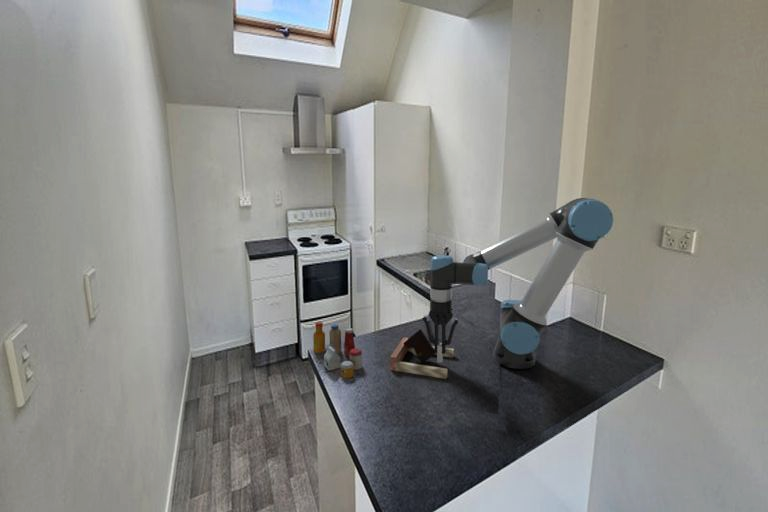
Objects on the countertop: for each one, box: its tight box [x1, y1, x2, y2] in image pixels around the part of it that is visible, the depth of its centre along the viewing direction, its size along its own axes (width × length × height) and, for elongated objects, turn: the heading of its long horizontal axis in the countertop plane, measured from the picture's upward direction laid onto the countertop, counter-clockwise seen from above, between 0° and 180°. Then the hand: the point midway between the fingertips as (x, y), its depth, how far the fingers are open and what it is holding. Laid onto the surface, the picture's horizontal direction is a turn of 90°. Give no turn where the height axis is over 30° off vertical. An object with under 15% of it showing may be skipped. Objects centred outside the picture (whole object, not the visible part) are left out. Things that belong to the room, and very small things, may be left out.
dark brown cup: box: [403, 328, 435, 364], centre depth 139 cm, size 12×9×10 cm
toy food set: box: [312, 321, 363, 379], centre depth 138 cm, size 27×13×12 cm, turn 30°
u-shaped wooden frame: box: [389, 337, 455, 379], centre depth 137 cm, size 20×18×5 cm
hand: (439, 361), depth 136 cm, fingers closed
